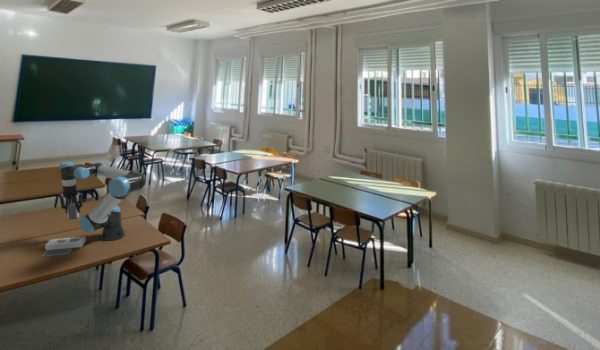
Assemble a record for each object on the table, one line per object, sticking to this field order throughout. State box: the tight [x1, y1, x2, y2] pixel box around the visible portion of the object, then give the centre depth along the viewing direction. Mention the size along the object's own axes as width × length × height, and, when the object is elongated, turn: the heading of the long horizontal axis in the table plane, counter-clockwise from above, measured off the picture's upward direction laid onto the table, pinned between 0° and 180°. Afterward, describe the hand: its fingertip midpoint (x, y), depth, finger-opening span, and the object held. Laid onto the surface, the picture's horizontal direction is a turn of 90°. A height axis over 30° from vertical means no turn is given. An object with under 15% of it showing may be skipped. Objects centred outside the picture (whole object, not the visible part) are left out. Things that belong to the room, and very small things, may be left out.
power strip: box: [44, 235, 87, 251], centre depth 209 cm, size 20×9×4 cm, turn 109°
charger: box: [67, 203, 78, 221], centre depth 215 cm, size 4×4×10 cm
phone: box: [41, 248, 73, 258], centre depth 200 cm, size 7×14×1 cm, turn 108°
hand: (73, 217), depth 216 cm, fingers closed on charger, 4 cm apart
